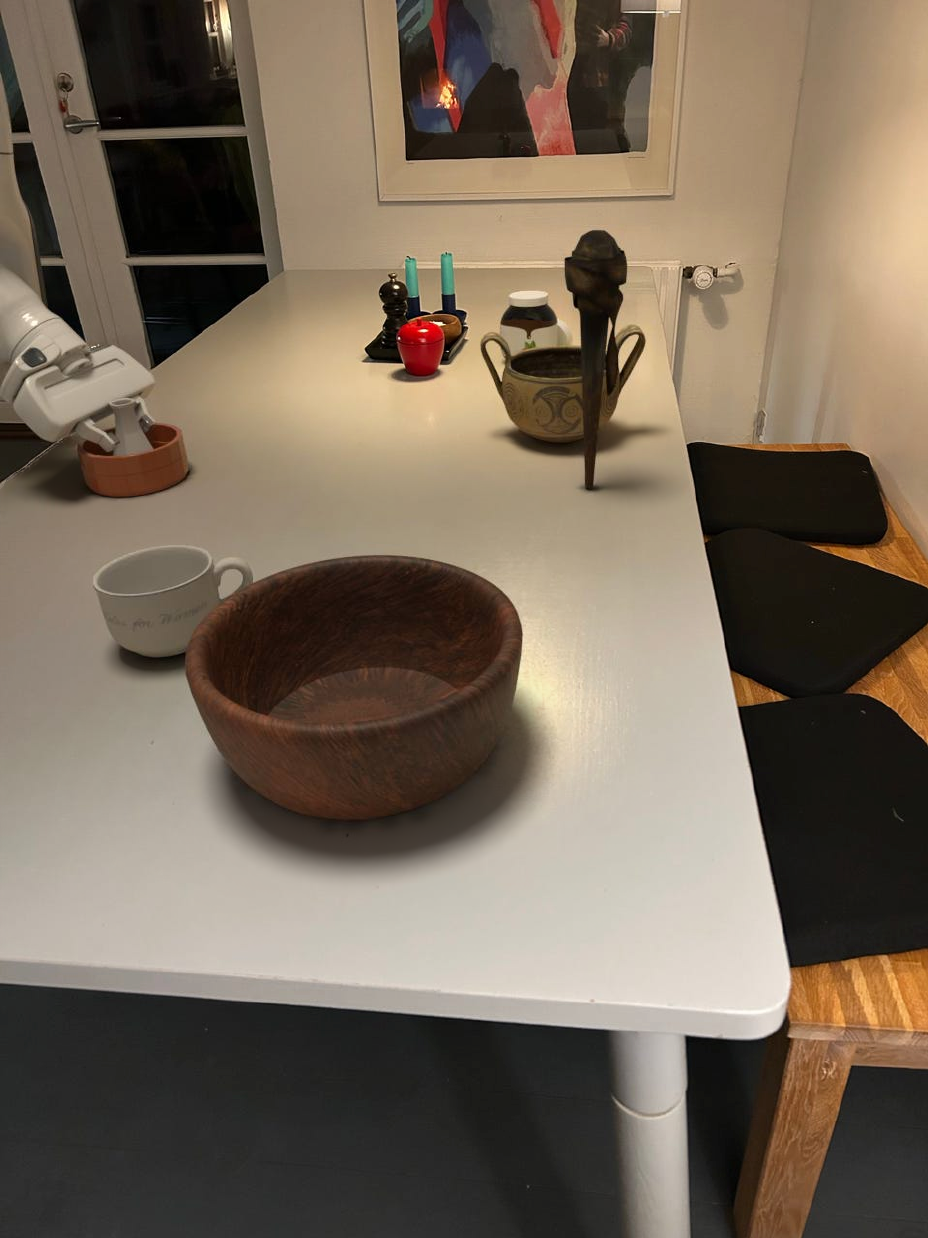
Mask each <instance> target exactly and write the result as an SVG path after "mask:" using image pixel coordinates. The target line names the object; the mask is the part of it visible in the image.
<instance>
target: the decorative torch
mask: <svg viewBox="0 0 928 1238" xmlns="http://www.w3.org/2000/svg"><path fill="white" fill-rule="evenodd" d="M563 259H564V261H563V262H564V280H565V286H566V290H567V292H569V293H571V294H572V305H573V307H574V309H577V310H578V312H579V327H580V329H579V331H580V332H579V333H580V346H581V365H582V398H583V430H584V438H583V456H584V457H583V458H584V459H583V460H584V486H585V489H592V488H594V483H595V471H596V470H595V469H596V460H597V459H596V458H597V449H598V438H599V430H600V429H599V418H600V408H601V397H602V387H603V377H604V366H605V356H606V386H607V396H608V395H610V394H611V392H612V391H613V389H614V387H615V383H616V379H617V374H618V366H619V367H620V365H619V355H618V352H617V346H616V340H615V337H616V325H617V324H616V323H617V319H618V316H619V312H620V309H621V307H622V304H623V301H624V293H623V292H622V290H621V289H620V286H623V285H625V284H627V278H628V262H627V255H626V253H625V250H623V249H621V248H620V247H619V245H618V243H617V240H616V239H615V238H614V237H613V236H612V235H611V234H610V233H609V232H608V231H607V230H604V229H592V230H589V231H587V232H585V233H583V234H582V235H581V236H580V237H579V240H578V241H577V244H576V246H575V248H574V250H572V251H571V256H566V257H564V258H563ZM609 323H611V325H612V326H611V329H610V333H609ZM608 333H609V334H608ZM608 335H609V337H608ZM606 351H607V354H606ZM598 429H599V430H598Z"/></svg>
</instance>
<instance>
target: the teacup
mask: <svg viewBox="0 0 928 1238" xmlns="http://www.w3.org/2000/svg"><path fill="white" fill-rule="evenodd" d="M228 570H236V571H238V572H240V574H241V575H242V580H241V581H242V582H241V584H240V585H239V586H238V587H237V589H236V590H234V591H233V592H232V593H231V594H229V595H227V596H225V597H224V598H220V593H219V592H220V591H219V587H220V586H221V582H222V576H223V574H224V573H226V571H228ZM252 583H254V573H253V571H252V568H251V567H250V565H249V563H247V562H246V561H245V560H244V559H242V558H239V557H235V556H230V557H225V558H222V559H221V560H220V561H218V562H217V563H215V564H214V559H213V556H212V554H210V552H208V550H206V549H204V548H202V547H199V546H195V545H194V546H193V545H183V544H174V545H173V544H169V545H158V546H153V547H148V548H143V549H139V550H137V551H134V552H129V553H127V554H123V555H122V556H119V557H117V558H115V559H113V560H111V561H109V562H108V563H106V564H105V565H102V567H100V568H99V570H97V572H96V573H95V574H94V575H93V577H92V587H93V589H94V591H95V592H96V595H97V598H98V602H99V606H100V609H101V612H102V615H103V618H104V621H105V625H106V627H107V629H108V631H109V633H110V636H111V637H112V638H113V640H114V641H115V642H116V643H117V644H118V645H119V646H121V647H122V648H124V649H125V650H128V651H130V652H135V653H137V654H139V655H141V656H144V657H149V658H167V657H172V656H177V655H181V654H184V653H186V650H187V647H188V643H189V641H190V639H191V637H192V634H193V633H194V631H195V630H196V628H197V627H198V625H199V624H200V623H201V621H202V620H203V619H204V618H205V617H206V616H207V615H208V614H209V613H210V612H211V611H212V610H213V609H214V608H215V607H217V606H218V605H219V604H220V603H222V602H223V601H224V600H226V599H227V598H228V597H230V596H231V595H233V594H234V593H236V592H238V591H239V590H241V589H243V588H244V587H246V586H248V585H250V584H252Z"/></svg>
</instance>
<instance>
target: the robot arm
mask: <svg viewBox="0 0 928 1238" xmlns="http://www.w3.org/2000/svg"><path fill="white" fill-rule="evenodd" d="M2 77H3V76H2V74H1V72H0V397H1V399H3V400H4V401H5V402H6V403H9V404H12V407H13V410H14V412H15V413H16V414H17V416H18V417H19V418H20V419H21V421H22V422H24V424H25V425H26V426H27V427H28V428H29V429H30V430H31V431H32V432H33V433H35V435H36V436H37V437H39V438H40V439H42V440H44V441H46V442H50V443H56V442H58V441H60V440H62V439H64V438H66V437H68V436H70V435H72V434H74V433H77V434H78V436H80V437H81V439H87V440H89V441H92V442H94V443H96V444H99V445H100V446H101V447H102V448H103V449H104V450H105V451H106V452H111V451H113V450H114V449H116V448H117V447H118V445H119V444H120V440H119V439H118V438H117V437H115V435H114V434H113V433H112V432H109V433H105V432H104V431H102V430H103V429H100V428H98V427H96V423H97V422H99V421H102V420H104V419H106V418H108V417H111V416H112V415H114V411H113V409H112V408H111V406H110V404H109V402H111V401H113V400H116V399H122V398H131V399H134V401H135V406H134V410H135V414H136V418H137V420H138V422H139V425H140V427H141V429H142V431H143V432H144V433H146V432H148V431H150V430H152V429H153V428H154V427H155V426H156V423H157V421H156V420H155V418H153V417H152V415H150V414H149V410H148V407H147V405H146V401H145V399H147V398H148V397H149V396H150V394H151V393H152V391H153V389H154V387H156V381H155V377H154V375H153V374H152V372H150V371H149V370H148V369H147V368H145V366H143V364H141V363H140V362H139V361H137V359H135V358H134V357H132V355H130V353H128V352H126V351H125V350H123V349H121V348H119V347H117V346H115V345H114V344H112V345H111V344H109V343H105V342H102V341H101V342H96V343H95V344H94V345H89V344H88V343H86V341H85V340H84V339H83V338H82V337H81V336H80V335H79V334H78V333H77V332H76V331H75V330H73V328H72V327H71V326H70V325H69V324H68V323H67V322H66V321H64V319H63V318H62V317H61V316H59V315H57V314H56V313H54V312H52V311H51V310H50V309H49V306H48V300H47V295H46V294H47V293H46V287H45V280H44V274H43V267H42V261H41V254H40V248H39V241H38V237H37V231H36V227H35V223H34V218H33V217H32V213H31V211H30V208H29V207H28V205H27V204H26V202H25V200H23V197H22V195H21V191H20V188H19V184H18V180H17V175H16V168H15V158H14V157H15V156H14V155H15V154H14V143H13V141H14V140H13V132H12V124H11V123H12V121H11V116H10V110H9V109H10V108H9V105H8V99H7V95H6V91H5V90H6V89H5V85H4V81H3V78H2Z"/></svg>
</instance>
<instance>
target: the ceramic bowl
mask: <svg viewBox="0 0 928 1238" xmlns="http://www.w3.org/2000/svg"><path fill="white" fill-rule="evenodd" d="M635 335H636V336H638V338H637V340H636V342H635V344H634V346H633V348H632V350H631V352H630V353H629V355H628V357H627V359H626V361H625V363H624V364H623V366H622V368H621V370H620V365H619V366H618V374H617V379H616V383H615V387H614V389H613V391H612V392H611V394H610V395H608V396H607V386H606V356H605V366H604V377H603V387H602V397H601V408H600V418H599V429H598V431H600V430H601V429H602V428H603V427H604V426H605V425H606V424H607V423H608V422H609V421H610V420H611V418H612V416H613V415H614V413H615V410H616V408H617V406H618V401H619V397H620V395H621V393H622V390H623V389H624V387H625V385H626V383H627V382H628V380H629V378H630V377H631V374H632V372H633V371H634V370H635V367H636V365H637V364H638V362H639V360H640V357H641V356H642V354H643V353H644V349H645V347H646V341H647V339H646V335H645V333H644V332H643V330H642V329H641V327H640V326H638V325H636V324H627V325H626V326H624V327H622V328H621V329H620V330H619V331H618V333H617V334H615V340H616V346H617V352H618V356H620V355H619V354H620V350H621V348H622V346H623V345H624V343H625V342H626V341H627V340H628V339H629V338H630V337H632V336H635ZM490 341H492V342H494V343H496V344H497V345H498V346H499V347H500V349H501V348H502V350H503V351H504V353H505V356H506V359H505V361H504V368H503V371H502V376H501V378H500V375H499V373H498V371H497V369H496V367H495V365H494V363H493V361H492V359H491V357H490V355H489V353H488V350H487V347H486V345H487V344H488V343H489V342H490ZM480 352H481V355H482V358H483V360H484V362H485V364H486V367H487V368H488V371H489V374H490V376H491V379H492V380H493V383H494V385H495V389H496V391H497V393H498V395H499V397H500V399H501V400H502V403H503V405H504V408H505V411H506V413H507V415H508V418H509V419H510V421H511V422H512V423H513V424H514V426H516V428H518V429H519V430H520V431H522V432H523V433H525V434H527V435H528V436H529V437H531V438H534V439H537V440H539V441H543V442H549V443H553V444H567V443H573V442H577V441H580V440H582V439H583V440H584V430H583V398H582V365H581V345H574V344H572V345H569V346H568V345H556V346H543V347H536V348H531V349H526V350H523V351H520V352H517V353H515V354H513V355H512V356H511V353H510V349H509V346H508V344H507V342H506V341H505V339H504V338H503V337H502V336H501V335H500V333H498V332H495V331H489V332H487V333H485V334H484V335H483V337H482V338H481V339H480ZM606 354H607V350H606Z"/></svg>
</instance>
